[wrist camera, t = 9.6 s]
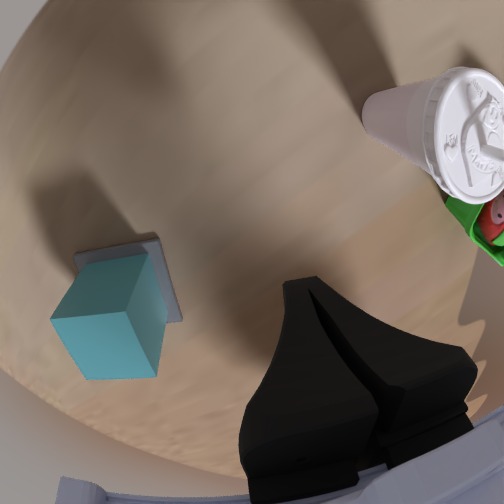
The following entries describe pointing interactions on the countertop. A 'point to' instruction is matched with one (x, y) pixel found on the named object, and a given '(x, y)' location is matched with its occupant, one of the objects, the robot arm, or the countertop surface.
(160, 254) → the grey square base plate
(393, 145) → the smoothie
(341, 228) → the countertop surface
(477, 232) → the fruit basket
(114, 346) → the teal foam brick
